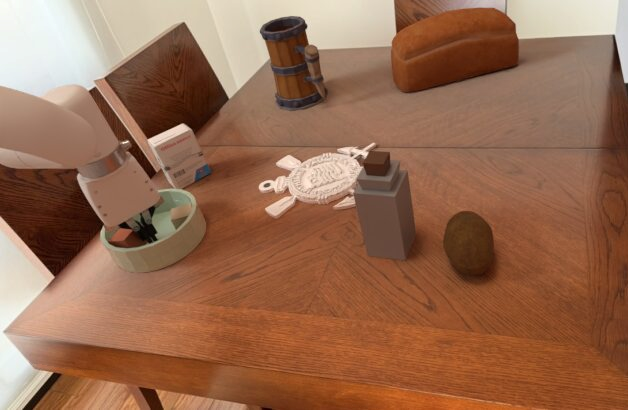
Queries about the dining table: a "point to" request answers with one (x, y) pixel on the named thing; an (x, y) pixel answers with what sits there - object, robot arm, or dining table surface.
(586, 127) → the dining table surface
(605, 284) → the dining table surface
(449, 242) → the potato
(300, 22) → the mug
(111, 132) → the robot arm
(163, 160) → the ink box
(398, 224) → the perfume bottle
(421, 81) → the bread
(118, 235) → the terracotta block
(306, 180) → the pendant
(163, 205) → the bowl
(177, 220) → the cream block
